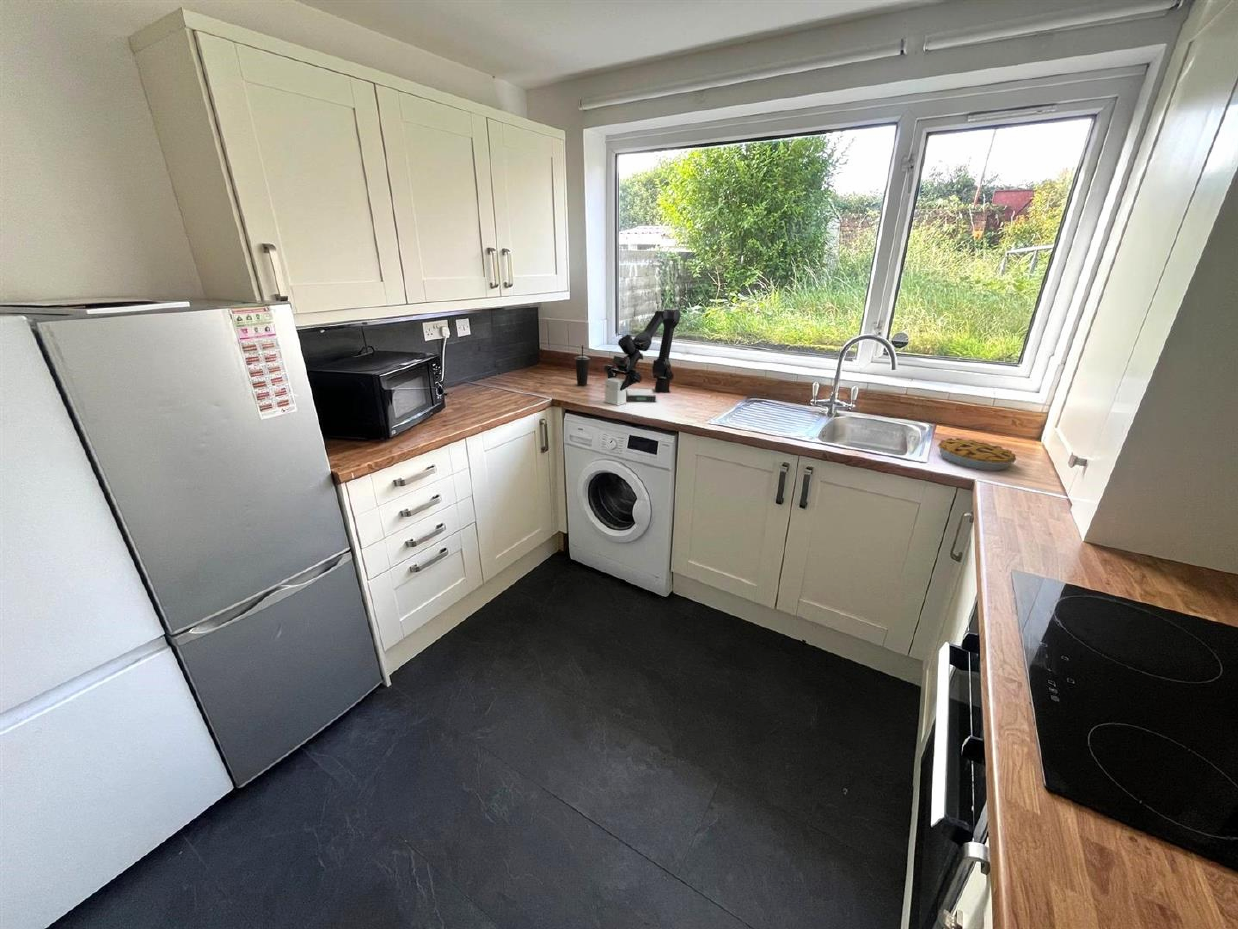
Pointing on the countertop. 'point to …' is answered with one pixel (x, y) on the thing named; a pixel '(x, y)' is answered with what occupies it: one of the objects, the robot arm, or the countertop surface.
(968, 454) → the pie
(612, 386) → the small box
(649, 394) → the kitchen scale
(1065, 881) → the countertop surface
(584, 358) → the drinking cup
